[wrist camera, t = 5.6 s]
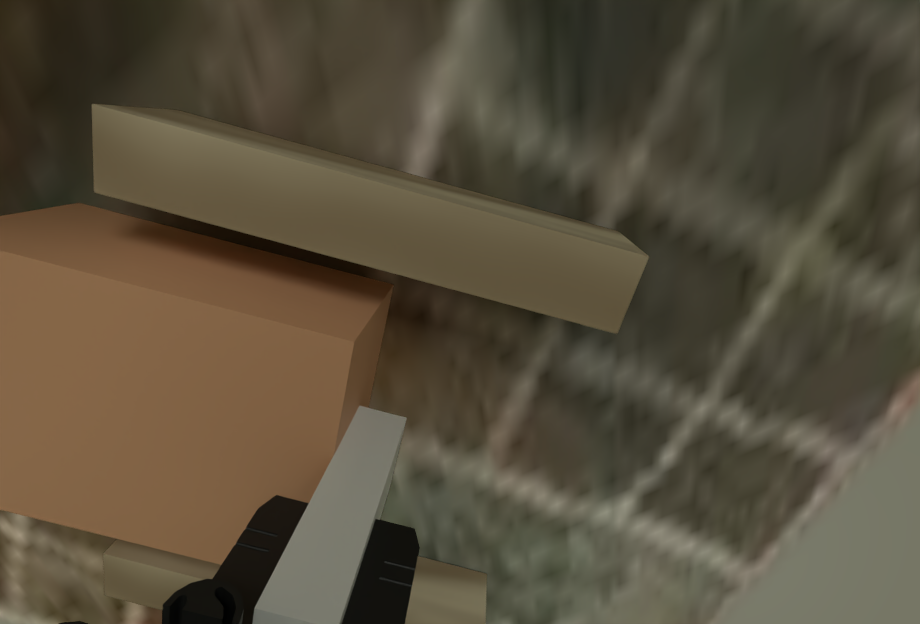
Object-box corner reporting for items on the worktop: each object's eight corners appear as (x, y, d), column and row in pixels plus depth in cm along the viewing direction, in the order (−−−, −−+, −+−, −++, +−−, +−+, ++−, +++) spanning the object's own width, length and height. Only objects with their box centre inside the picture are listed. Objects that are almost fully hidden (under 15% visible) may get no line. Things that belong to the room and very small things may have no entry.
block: (83, 202, 15) (-81, 229, 11) (394, 283, 15) (354, 342, 11) (92, 413, 18) (-34, 501, 14) (354, 479, 18) (309, 586, 14)
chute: (176, 109, 13) (91, 103, 11) (618, 231, 14) (649, 256, 11) (161, 527, 19) (104, 595, 16) (473, 608, 19) (469, 688, 17)
